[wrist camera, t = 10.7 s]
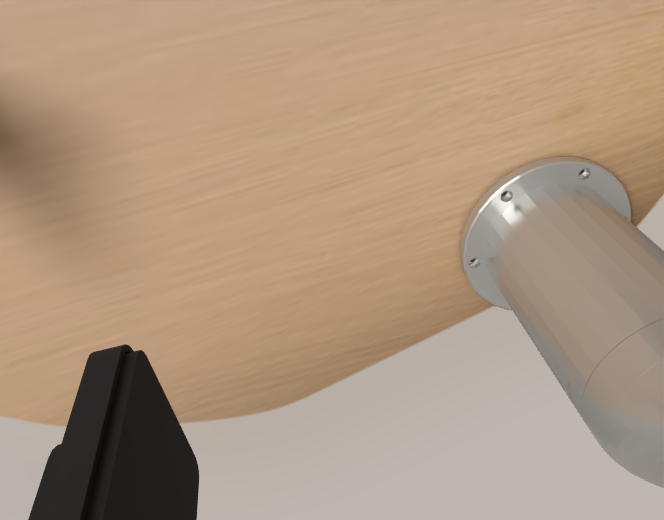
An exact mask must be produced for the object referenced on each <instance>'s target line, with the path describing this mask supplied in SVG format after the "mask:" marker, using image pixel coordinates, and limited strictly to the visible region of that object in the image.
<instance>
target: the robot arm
mask: <svg viewBox="0 0 664 520" xmlns="http://www.w3.org/2000/svg"><path fill="white" fill-rule="evenodd" d="M460 258H461V263H462V268H463V271H464V273H465V275H466V277H467V279H468V281H469V282H470V284H471V285H472V287H473V288H474V290H475V291H476V292H477V293H478V294H479V295H480V296H481V297H482V298H483V299H484V300H486V301H488V302H489V303H491V304H493V305H495V306H497V307H501V308H504V309H507V310H513V312H514V313H515V315H516V316H517V318H518V320H519V321H520V323H521V324H522V326H523V327H524V329H525V330H526V332H527V333H528V335H529V336H530V338H531V340H532V341H533V343H534V344H535V346H536V347H537V349H538V351H539V352H540V354H541V355H542V357H543V358H544V360H545V361H546V363H547V364H548V366H549V367H550V369H551V371H552V372H553V374H554V375H555V377H556V378H557V380H558V381H559V383H560V384H561V386H562V388H563V389H564V391H565V392H566V394H567V395H568V397H569V398H570V400H571V402H572V403H573V405H574V406H575V408H576V409H577V411H578V413H579V414H580V416H581V417H582V419H583V420H584V422H585V423H586V425H587V426H588V428H589V429H590V431H591V432H592V434H593V435H594V437H595V438H596V440H597V441H598V443H599V444H600V445H601V447H602V448H603V449H604V451H605V452H606V453H607V454H608V455H609V456H610V457H611V458H612V459H613V460H614V461H615V462H617V463H618V464H619V465H621V466H622V467H624V468H625V469H626V470H628V471H629V472H631V473H632V474H634V475H636V476H638V477H640V478H642V479H644V480H646V481H648V482H650V483H652V484H655V485H658V486H661V487H663V488H664V251H663V250H662V249H661V248H659V247H658V246H657V245H656V244H655V243H654V242H653V241H651V240H650V239H649V238H648V237H647V236H646V235H644V234H643V233H642V232H641V231H640V230H639V229H638V228H637V227H635V226H634V225H633V224H632V223H631V205H630V201H629V197H628V194H627V192H626V191H625V189H624V187H623V185H622V184H621V182H620V181H619V180H618V179H617V178H616V177H615V176H614V175H613V174H612V173H610V172H609V171H608V170H606V169H605V168H603V167H602V166H601V165H599V164H596V163H594V162H592V161H590V160H587V159H582V158H577V157H552V158H547V159H542V160H538V161H535V162H533V163H530V164H527V165H525V166H522V167H520V168H518V169H517V170H515V171H513V172H511V173H510V174H508V175H506V176H505V177H504V178H502V179H501V180H500V181H498V182H497V183H496V184H495V185H493V186H492V187H491V188H490V189H489V190H488V191H487V192H486V193H485V195H484V196H483V197H482V198H481V199H480V200H479V202H478V203H477V204H476V206H475V207H474V209H473V210H472V212H471V213H470V216H469V218H468V220H467V222H466V224H465V227H464V230H463V234H462V238H461V242H460ZM198 487H199V470H198V464H197V460H196V457H195V455H194V454H193V451H192V449H191V447H190V445H189V443H188V441H187V439H186V436H185V435H184V433H183V430H182V428H181V426H180V424H179V422H178V420H177V418H176V416H175V414H174V412H173V410H172V408H171V406H170V403H169V401H168V399H167V397H166V395H165V393H164V391H163V389H162V387H161V385H160V383H159V381H158V379H157V377H156V375H155V373H154V371H153V369H152V366H151V364H150V362H149V360H148V358H147V356H146V355H145V353H144V352H143V351H141V350H139V351H135V352H134V351H133V350H132V348H131V347H130V346H129V345H121V346H117V347H113V348H109V349H105V350H101V351H96V352H93V353H91V354H90V355H89V358H88V360H87V363H86V366H85V370H84V373H83V376H82V379H81V383H80V386H79V389H78V392H77V396H76V399H75V402H74V405H73V408H72V412H71V415H70V418H69V421H68V425H67V428H66V431H65V434H64V438H63V442H62V444H60V445H57V446H56V447H55V448H54V449H53V450H52V452H51V454H50V456H49V458H48V461H47V464H46V467H45V470H44V473H43V476H42V479H41V482H40V486H39V489H38V492H37V495H36V498H35V501H34V504H33V507H32V510H31V513H30V517H29V519H28V520H196V518H197V503H198Z"/></svg>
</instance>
